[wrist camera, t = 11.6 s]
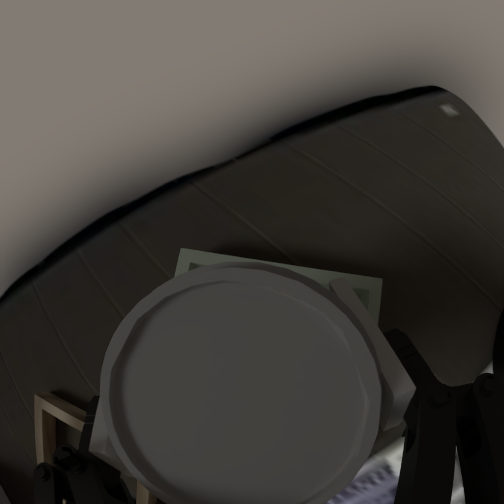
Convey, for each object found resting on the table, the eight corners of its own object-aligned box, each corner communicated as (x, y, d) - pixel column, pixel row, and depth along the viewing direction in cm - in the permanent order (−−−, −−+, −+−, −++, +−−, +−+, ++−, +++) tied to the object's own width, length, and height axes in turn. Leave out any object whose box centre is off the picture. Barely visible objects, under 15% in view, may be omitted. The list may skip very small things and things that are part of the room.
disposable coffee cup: (318, 438, 17) (352, 541, 5) (184, 416, 18) (87, 484, 6) (339, 307, 19) (414, 270, 8) (204, 290, 20) (114, 234, 9)
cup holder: (162, 442, 21) (152, 451, 19) (154, 536, 18) (146, 547, 15) (49, 391, 23) (34, 393, 21) (52, 485, 19) (41, 491, 17)
